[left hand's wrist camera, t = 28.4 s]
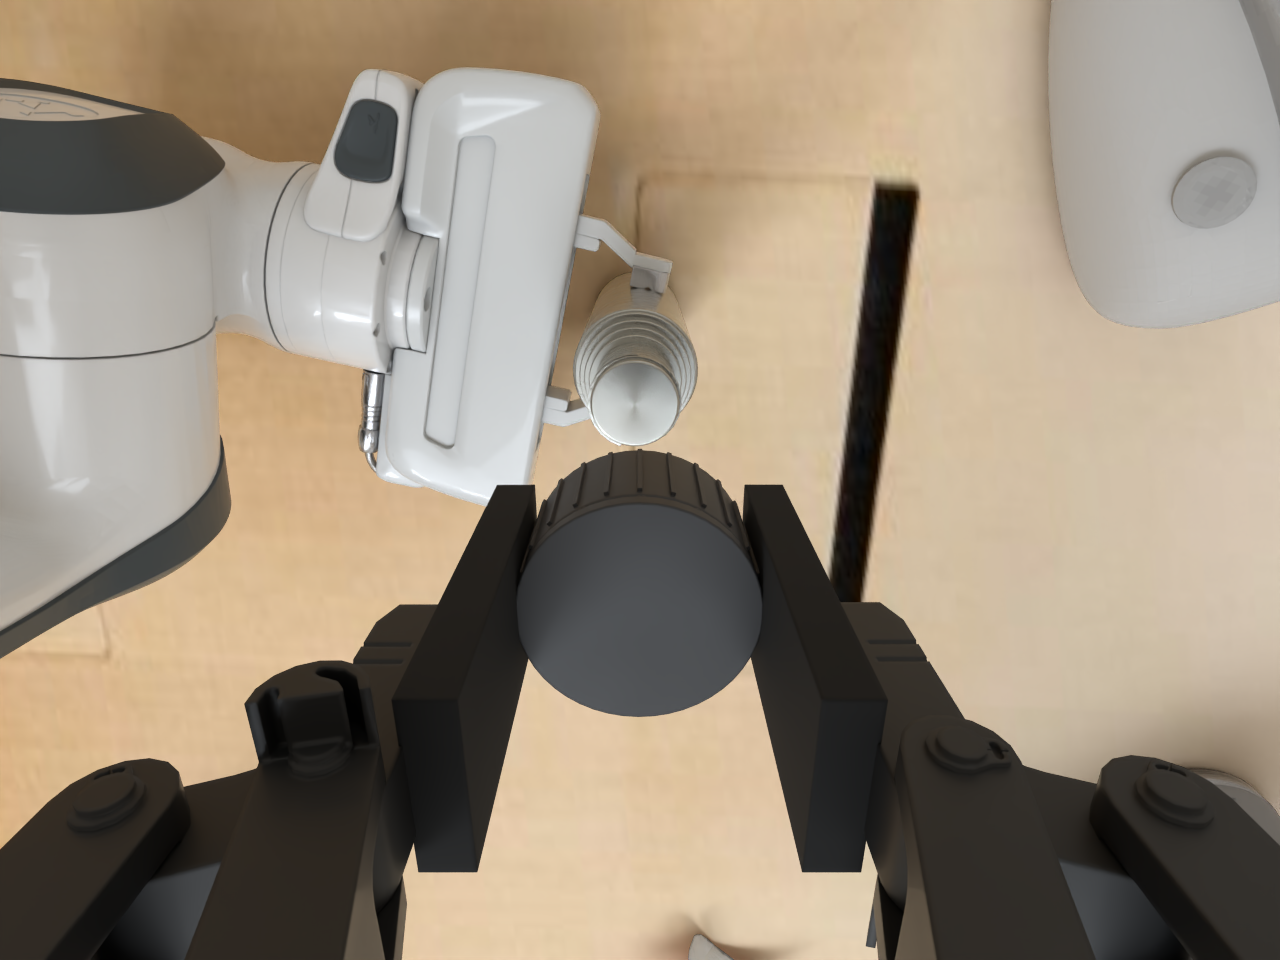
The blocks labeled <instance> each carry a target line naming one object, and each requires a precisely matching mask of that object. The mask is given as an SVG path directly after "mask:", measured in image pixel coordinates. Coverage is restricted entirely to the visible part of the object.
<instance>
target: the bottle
mask: <svg viewBox="0 0 1280 960" xmlns="http://www.w3.org/2000/svg"><path fill="white" fill-rule="evenodd" d="M631 274H632V272H629V273H625V274H622V275H620V276H617V277H616V278H614V279H612V280H611V281H610V282H609V283H608V284H607V285H606V286H605V287H604V288H603V289H602V291H601V292H600V294H599V296H598V298H597V300H596V303H595V305H594V308H593V310H592V313H591V315H590V318H589V320H588V323H587V325H586V327H585V330H584V332H583V335H582V337H581V340H580V342H579V345H578V347H577V350H576V353H575V357H574V364H573V376H574V382H575V386H576V389H577V392H578V394H579V396H580V398H581V400H582V402H583V403H584V405H585V406H586V407H587V409H588V410H589V415H590V417H591V420H592V422H593V425H594V426H595V427H596V429H597V430H598V431H599V433H600V434H601V435H602V436H604V437H605V438H606V439H607V440H609V441H610V442H612V443H614V444H616V445H619V446H621V444H623V445H627V446H642V445H647V444H650V443H653V442H655V441H657V440H659V439H660V438H662V437H663V436H665V435H666V434H667V433H668V432H669V431H670V430H671V429H672V428H673V427H674V425H675V423H676V421H677V419H678V417H679V414H680V412H681V411H682V410H683V409H684V408H685V406H686V405H687V403H688V402H689V400H690V399H691V397H692V394H693V392H694V389H695V386H696V382H697V376H698V365H697V358H696V353H695V350H694V347H693V344H692V342H691V339H690V336H689V333H688V330H687V327H686V325H685V322H684V319H683V316H682V313H681V310H680V308H679V305H678V302H677V299H676V297H675V295H674V293H673V291H672V290H671V289H670V287H669V286H668V285H667V289H666V293H658V292H654V291H652V290H651V289H650V288H649V287H647V288H644V289H642V288H636V287H632V286H629V285H630V279H631Z"/></svg>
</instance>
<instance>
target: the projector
mask: <svg viewBox="0 0 1280 960" xmlns="http://www.w3.org/2000/svg"><path fill="white" fill-rule="evenodd" d="M1048 98H1049V123H1050V138H1051V150H1052V162H1053V171H1054V179H1055V187H1056V195H1057V202H1058V208H1059V214H1060V220H1061V226H1062V231H1063V235H1064V240H1065V245H1066V249H1067V253H1068V256H1069V260H1070V263H1071V267H1072V270H1073V273H1074V276H1075V278H1076V281H1077V283H1078V286H1079V288H1080V290H1081V291H1082V293H1083V295H1084V297H1085V298H1086V300H1087V301H1088V303H1089V304H1090V305H1091V306H1092V307H1093V308H1094V309H1095V310H1096V311H1097V312H1098V313H1099V314H1100V315H1102V316H1103V317H1105V318H1106V319H1108V320H1110V321H1113V322H1115V323H1118V324H1122V325H1126V326H1131V327H1140V328H1175V327H1182V326H1189V325H1194V324H1199V323H1204V322H1208V321H1212V320H1216V319H1220V318H1224V317H1228V316H1232V315H1235V314H1239V313H1242V312H1246V311H1249V310H1253V309H1256V308H1259V307H1263V306H1266V305H1269V304H1272V303H1275V302H1278V301H1280V0H1051V11H1050V25H1049V51H1048Z"/></svg>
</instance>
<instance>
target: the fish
mask: <svg viewBox="0 0 1280 960" xmlns="http://www.w3.org/2000/svg"><path fill="white" fill-rule="evenodd" d="M688 960H734V959H733V958H731V957H730V956H729V955H727V954H726V953H725V952H723V951H722V950H720V949H719V948H718V947H716V946H715V945H714V944H713V943H712V942H710V941H709V940H708V939H707V938H706V937H704V936H703V935H701V934H697V935H695V936H694V937H693V940H692V943H691V946H690V949H689V956H688Z"/></svg>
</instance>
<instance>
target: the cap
mask: <svg viewBox="0 0 1280 960" xmlns="http://www.w3.org/2000/svg"><path fill="white" fill-rule="evenodd" d="M759 576H760V572H759V569H758V566H757V563H756V560H755V556H754V553H753V550H752V547H751V544H750V541H749V537H748V534H747V531H746V528H745V525H743V522H742V519H741V515H740V512H739V509H738V506H737V503H736V501H732V500H731V498H730V497H729V495H728V494H727V492H726V491H725V490H724V489H723V488H722V485H721V482H720V481H719V480H718V479H717V480H715V479H714V478H713V477H711V476H710V475H709V474H708V473H707V472H705V471H704V470H702V469H701V468H699V466H698V464H696V463H694V464H692V463H690V462H688V461H686V460H684V459H682V458H679V457H676V456H673V455H672V454H671V453H669V452H667V454H665V453H660V452H655V451H643V450H642V449H638V451H624V452H618V453H613V452H610V453H608V455H606V456H603V457H599V458H597V459H595V460H592V461H590V462H588V463H585V462H584V463H582V464H581V467H579V468H578V469H576V470H575V471H573V472H572V473H571V474H569V475H568V476H567V477H566V478H565V479H562V478H561V479H560V480H559V482H558V485H557V487H556V488H555V489H554V490H553V492H552V493H551V495H550V496H549V498H548V499H547V501H546V500H545V499H544V500H543V502H542V505H541V508H540V511H539V514H538V518H537V521H536V524H535V525H534V529H533V532H532V535H531V538H530V541H529V544H528V547H527V551H526V554H525V557H524V560H523V563H522V566H521V569H520V580H519V583H518V586H517V591H516V601H517V615H518V629H519V638H520V642H521V644H522V646H523V648H524V651H525V653H526V655H527V657H528V658H529V660H530V661H531V663H532V664H533V666H534V668H535V669H536V670H537V671H538V672H539V673H540V675H541V676H542V677H543V678H544V679H545V680H546V681H547V682H548V683H549V684H550V685H552V686H553V687H554V688H555V689H556V690H558V691H559V692H561V693H562V694H563V695H565V696H566V697H568V698H570V699H572V700H574V701H575V702H577V703H579V704H581V705H584V706H586V707H589V708H591V709H594V710H598V711H601V712H605V713H608V714H615V715H621V716H633V717H645V716H658V715H664V714H670V713H673V712H677V711H681V710H684V709H687V708H689V707H692V706H694V705H697V704H699V703H701V702H703V701H705V700H707V699H709V698H710V697H712V696H713V695H715V694H716V693H718V692H719V691H721V690H722V689H723V688H724V687H726V686H727V685H728V684H729V683H730V682H731V681H732V680H733V679H734V678H735V677H736V676H737V675H738V674H739V673H740V671H741V670H742V669H743V668H744V666H745V665H746V663H747V662H748V660H749V659H750V657H751V655H752V653H753V651H754V649H755V647H756V645H757V642H758V639H759V636H760V633H761V622H762V608H763V596H762V589H761V586H760V582H759V579H758V577H759Z"/></svg>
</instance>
